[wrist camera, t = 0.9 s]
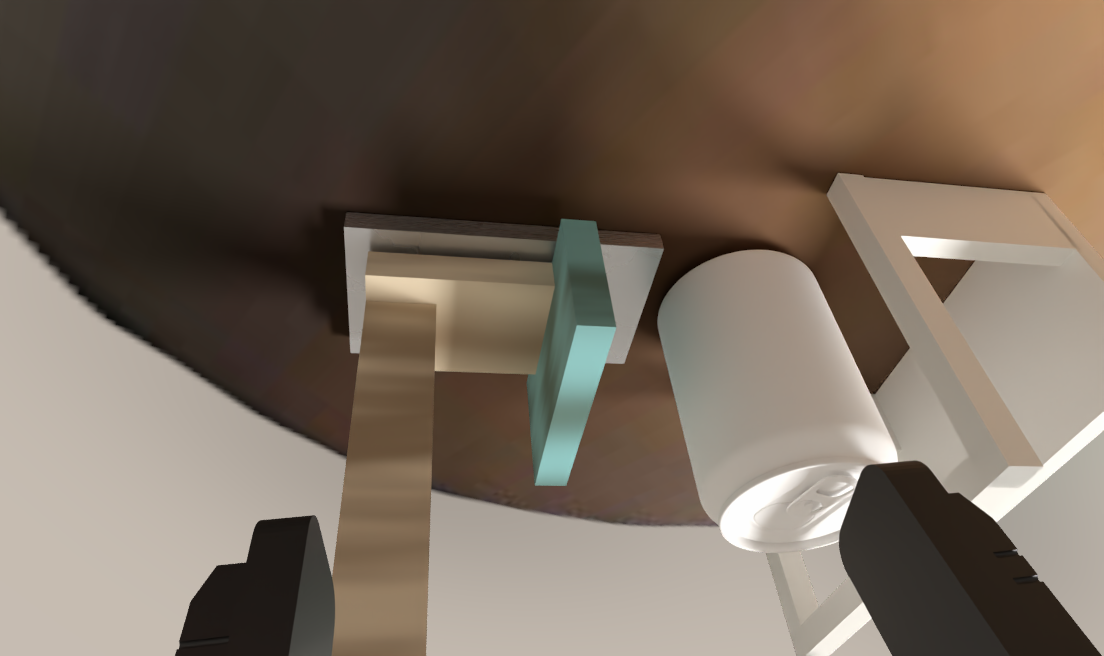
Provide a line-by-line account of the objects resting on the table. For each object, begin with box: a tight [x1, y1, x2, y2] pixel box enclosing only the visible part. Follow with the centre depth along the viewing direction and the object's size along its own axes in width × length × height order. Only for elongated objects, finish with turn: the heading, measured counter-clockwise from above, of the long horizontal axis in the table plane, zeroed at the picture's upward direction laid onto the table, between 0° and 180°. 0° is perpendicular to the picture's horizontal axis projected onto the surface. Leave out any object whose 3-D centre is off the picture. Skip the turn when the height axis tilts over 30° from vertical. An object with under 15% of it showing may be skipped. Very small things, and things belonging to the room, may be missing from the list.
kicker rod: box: [332, 219, 616, 656], centre depth 28 cm, size 11×10×19 cm
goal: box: [766, 173, 1104, 656], centre depth 34 cm, size 16×10×15 cm, turn 171°
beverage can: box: [657, 250, 898, 553], centre depth 34 cm, size 8×8×12 cm
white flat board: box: [344, 212, 664, 364], centre depth 36 cm, size 8×14×1 cm, turn 81°
